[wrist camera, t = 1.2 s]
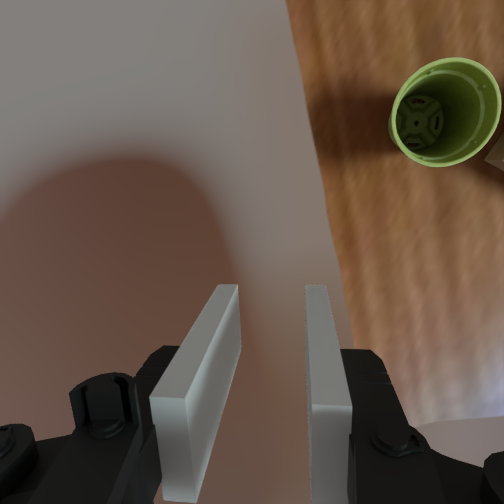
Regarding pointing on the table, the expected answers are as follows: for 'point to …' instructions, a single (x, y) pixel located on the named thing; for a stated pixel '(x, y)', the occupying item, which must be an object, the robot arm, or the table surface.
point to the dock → (497, 154)
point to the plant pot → (445, 112)
